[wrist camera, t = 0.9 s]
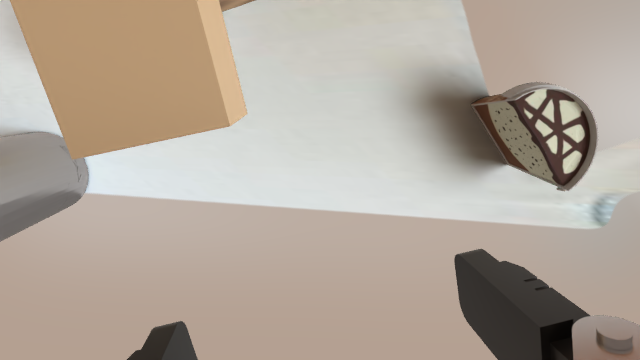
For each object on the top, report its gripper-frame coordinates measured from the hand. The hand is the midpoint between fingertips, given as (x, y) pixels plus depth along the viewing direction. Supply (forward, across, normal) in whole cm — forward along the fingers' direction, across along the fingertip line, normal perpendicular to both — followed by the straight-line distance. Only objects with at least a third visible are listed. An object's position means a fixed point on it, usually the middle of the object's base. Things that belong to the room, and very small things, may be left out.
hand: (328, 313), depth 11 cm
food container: (+34, +27, -2) cm, 43 cm away
